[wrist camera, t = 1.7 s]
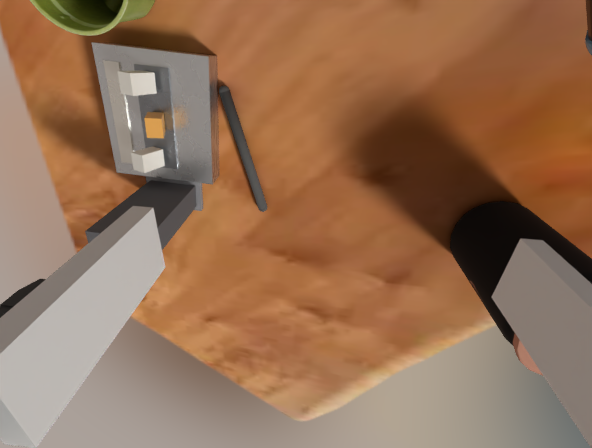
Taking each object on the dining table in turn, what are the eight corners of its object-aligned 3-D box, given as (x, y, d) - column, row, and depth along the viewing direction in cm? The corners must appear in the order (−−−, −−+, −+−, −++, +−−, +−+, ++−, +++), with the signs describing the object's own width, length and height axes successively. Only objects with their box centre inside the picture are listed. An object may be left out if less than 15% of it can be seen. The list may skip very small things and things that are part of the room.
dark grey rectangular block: (148, 172, 42) (77, 224, 29) (201, 179, 42) (152, 233, 29) (152, 201, 44) (87, 261, 32) (203, 208, 44) (157, 270, 32)
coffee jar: (432, 252, 45) (492, 362, 29) (474, 187, 40) (574, 279, 24) (499, 272, 46) (592, 389, 30) (549, 210, 40) (692, 314, 25)
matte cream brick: (152, 146, 36) (130, 152, 34) (162, 149, 36) (141, 155, 33) (154, 162, 37) (133, 169, 35) (164, 165, 37) (144, 173, 34)
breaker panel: (109, 42, 34) (90, 42, 31) (217, 55, 34) (207, 56, 31) (129, 164, 41) (115, 172, 38) (219, 175, 41) (212, 184, 38)
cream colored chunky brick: (142, 70, 32) (117, 71, 30) (154, 72, 32) (129, 73, 29) (145, 91, 33) (120, 93, 31) (156, 93, 33) (133, 95, 30)
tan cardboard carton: (147, 111, 34) (144, 118, 31) (163, 112, 34) (161, 118, 32) (150, 130, 35) (146, 137, 32) (165, 130, 35) (163, 138, 33)
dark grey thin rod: (219, 86, 36) (215, 87, 35) (228, 83, 35) (225, 84, 34) (260, 209, 43) (259, 213, 42) (268, 208, 43) (267, 212, 42)
